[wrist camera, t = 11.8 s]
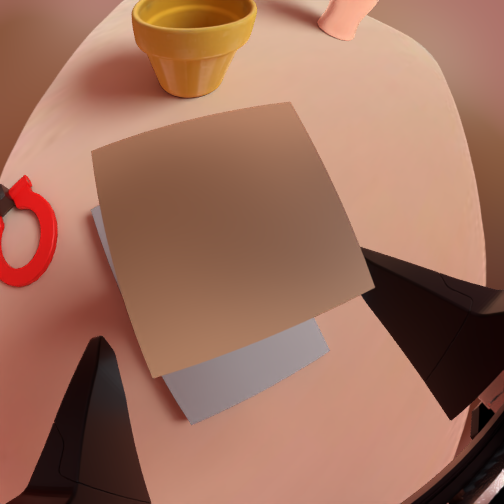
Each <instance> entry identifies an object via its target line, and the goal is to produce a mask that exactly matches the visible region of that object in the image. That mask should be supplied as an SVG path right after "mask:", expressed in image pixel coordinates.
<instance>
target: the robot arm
mask: <svg viewBox="0 0 504 504" xmlns="http://www.w3.org/2000/svg"><path fill="white" fill-rule="evenodd" d="M360 248H361V251H362V253H363V256H364V259H365V261H366V264H367V267H368V269H369V272H370V275H371V278H372V280H373V283H374V286H375V288H373V289H371V290H369V291H367V292H365V293H363V294H361V296H362V297H363V299H364V300H365V302H366V303H367V304H368V306H369V307H370V309H371V310H372V311H373V312H374V314H375V315H376V316H377V318H378V319H379V320H380V321H381V323H382V324H383V325H384V327H385V328H386V329H387V331H388V332H389V333H390V335H391V336H392V337H393V339H394V340H395V341H396V343H397V344H398V345H399V347H400V348H401V350H402V351H403V352H404V354H405V355H406V356H407V358H408V359H409V361H410V362H411V363H412V365H413V366H414V368H415V369H416V370H417V372H418V373H419V375H420V376H421V378H422V379H423V380H424V382H425V384H426V385H427V386H428V388H429V389H430V391H431V392H432V394H433V395H434V397H435V398H436V400H437V401H438V403H439V404H440V406H441V407H442V409H443V410H444V412H445V413H446V415H447V416H448V418H449V419H450V420H453V419H454V418H455V417H456V416H457V415H459V414H460V413H461V412H462V411H463V410H464V409H465V408H466V407H468V406H469V405H470V404H471V403H472V402H473V401H474V400H475V399H476V398H477V397H479V399H480V400H481V402H480V404H478V406H477V407H476V408H475V409H474V410H473V411H472V422H471V436H470V437H471V439H472V441H471V442H470V443H469V444H468V445H467V447H466V448H465V449H464V450H463V451H462V452H461V453H460V454H459V455H458V456H457V457H456V458H455V459H454V460H453V461H451V462H450V463H449V464H448V465H447V466H446V467H445V468H444V469H443V470H442V471H441V472H440V473H438V474H437V475H436V476H435V477H434V478H433V479H431V480H430V481H429V482H428V483H427V484H425V485H424V486H423V487H422V488H420V489H419V490H418V491H417V492H415V493H414V494H413V495H411V496H410V497H409V498H407V499H406V500H405V501H403V502H402V503H400V504H447V503H449V504H504V290H495V289H491V288H487V287H484V286H480V285H477V284H473V283H470V282H466V281H463V280H459V279H456V278H453V277H450V276H447V275H444V274H442V273H440V274H439V273H438V272H436V271H433V270H430V269H427V268H424V267H421V266H418V265H415V264H412V263H409V262H406V261H403V260H400V259H397V258H394V257H391V256H388V255H384V254H381V253H378V252H375V251H372V250H369V249H366V248H362V247H360ZM54 422H55V423H53V425H52V428H51V431H50V433H49V436H48V438H47V441H46V444H45V446H44V448H43V451H42V453H41V456H40V458H39V460H38V462H37V465H36V467H35V470H34V472H33V474H32V477H31V479H30V482H29V484H28V486H27V487H26V489H25V490H24V491H23V492H22V493H21V494H20V495H19V496H17V497H16V498H14V499H12V500H11V501H9V502H8V503H6V504H151V500H150V497H149V494H148V491H147V488H146V485H145V481H144V478H143V474H142V471H141V467H140V463H139V459H138V455H137V451H136V447H135V443H134V438H133V434H132V429H131V424H130V419H129V413H128V408H127V402H126V397H125V392H124V388H123V384H122V380H121V377H120V373H119V368H118V364H117V360H116V355H115V353H114V351H113V349H112V348H111V346H110V345H109V344H108V342H107V341H106V340H105V338H104V337H103V336H97V337H94V338H92V339H91V340H90V341H89V343H88V345H87V347H86V349H85V351H84V353H83V356H82V358H81V360H80V362H79V364H78V366H77V368H76V370H75V373H74V375H73V377H72V379H71V381H70V384H69V386H68V388H67V391H66V393H65V395H64V398H63V400H62V403H61V405H60V407H59V410H58V412H57V415H56V418H55V420H54Z"/></svg>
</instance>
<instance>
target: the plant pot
mask: <svg viewBox="0 0 504 504" xmlns="http://www.w3.org/2000/svg"><path fill="white" fill-rule="evenodd" d="M256 14H257V6H256V4H255V2H254V1H253V0H140V1H139V2H138V3H137V4H136V5H135V6H134V8H133V10H132V25H133V31H134V36H135V41H136V43H137V45H138V47H139V48H140V49H141V50H142V51H143V52H145V53H147V55H148V58H149V60H150V62H151V64H152V67H153V69H154V71H155V74H156V76H157V78H158V81H159V83H160V85H161V86H162V88H163V89H164V90H165V91H167V92H168V93H170V94H172V95H174V96H178V97H185V98H192V97H199V96H203V95H206V94H209V93H211V92H212V91H214V90H215V89H216V88H217V87H218V86H219V85H220V84H221V82H222V80H223V78H224V75H225V73H226V71H227V69H228V67H229V65H230V63H231V61H232V59H233V57H234V55H235V53H236V51H237V49H239V48H240V47H242V46H243V45H244V44H245V43H246V42H247V41H248V39H249V37H250V35H251V32H252V29H253V25H254V22H255V18H256Z"/></svg>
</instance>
